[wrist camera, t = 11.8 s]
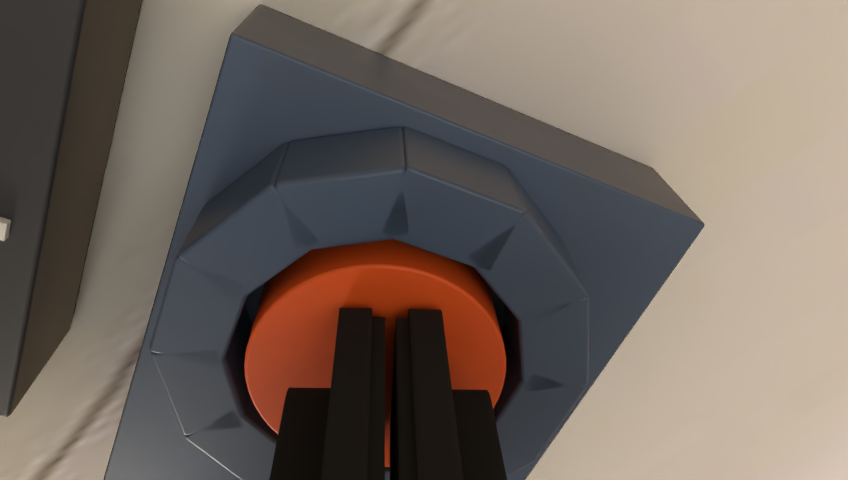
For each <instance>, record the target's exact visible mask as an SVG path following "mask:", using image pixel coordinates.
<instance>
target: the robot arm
mask: <svg viewBox="0 0 848 480" xmlns="http://www.w3.org/2000/svg"><path fill="white" fill-rule="evenodd" d="M269 480H385V317H372V308H340V309H339V316H338V325H337V335H336V344H335V353H334V362H333V371H332V380H331V388H292V387H289V388H288V390H287V393H286V397H285V402H284V407H283V412H282V417H281V422H280V428H279V433H278V438H277V443H276V448H275V453H274V458H273V463H272V469H271V474H270V479H269ZM390 480H507V477H506V472H505V467H504V462H503V457H502V452H501V447H500V442H499V437H498V432H497V427H496V422H495V417H494V412H493V407H492V402H491V398H490V394H489V392H488V390H466V389H452V386H451V378H450V370H449V362H448V355H447V347H446V339H445V331H444V323H443V315H442V310H437V309H409V310H408V318H401V317H396V320H395V340H394V361H393V382H392V403H391V425H390Z"/></svg>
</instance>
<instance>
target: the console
mask: <svg viewBox="0 0 848 480" xmlns="http://www.w3.org/2000/svg"><path fill="white" fill-rule="evenodd" d="M141 2H142V0H0V416H3V417H8V416H9V415H10V414H11V413H12V412H13V410H14V409H15V408H16V406H17V405H18V403H19V402H20V400H21V399H22V397H23V396H24V395H25V393H26V392H27V390H28V389H29V387H30V386H31V384H32V383H33V382H34V380H35V379H36V377H37V376H38V374H39V373H40V372H41V370H42V369H43V367H44V366H45V364H46V363H47V361H48V360H49V359H50V357H51V356H52V354H53V353H54V351H55V350H56V348H57V347H58V346H59V344H60V343H61V341H62V340H63V338H64V337H65V335H66V334H67V333H68V331H69V330H70V326H71V321H72V317H73V312H74V308H75V303H76V299H77V294H78V289H79V285H80V280H81V276H82V271H83V267H84V262H85V258H86V253H87V248H88V244H89V239H90V235H91V230H92V226H93V221H94V216H95V212H96V207H97V203H98V198H99V194H100V189H101V185H102V180H103V175H104V171H105V166H106V162H107V157H108V153H109V148H110V143H111V139H112V134H113V130H114V125H115V121H116V116H117V111H118V107H119V102H120V98H121V93H122V89H123V84H124V80H125V75H126V70H127V66H128V61H129V57H130V52H131V48H132V43H133V38H134V34H135V29H136V25H137V20H138V16H139V11H140V7H141Z"/></svg>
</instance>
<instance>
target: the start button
mask: <svg viewBox="0 0 848 480" xmlns="http://www.w3.org/2000/svg"><path fill="white" fill-rule="evenodd" d="M340 308H372V317H385V467H390V425H391V403H392V382H393V361H394V340H395V320H396V317H401V318H408V310H409V309H437V310H442V315H443V323H444V331H445V339H446V347H447V355H448V362H449V370H450V378H451V386H452V389H466V390H488V392H489V394H490V398H491V402H492V407H493V408H494V406H495V405H496V403H497V401H498V399H499V397H500V394H501V391H502V388H503V385H504V380H505V375H506V353H505V347H504V342H503V338H502V334H501V331H500V327H499V323H498V319H497V315H496V311H495V307H494V304H493V300H492V296H491V292H490V289H489V286H488V284H487V282H486V281H485V280H484V279H483V278H482V276H481V275H480V274H479V273H478V272H477V271H476V269H475V268H474V267H472V266H469V265H466V264H463V263H461V262H458V261H455V260H452V259H449V258H446V257H443V256H441V255H438V254H435V253H432V252H429V251H426V250H423V249H420V248H418V247H415V246H412V245H409V244H406V243H403V242H400V241H397V240H395V239H392V240H384V241H376V242H368V243H360V244H352V245H345V246H337V247H329V248H321V249H313V250H310V251H309V252H307V253H306V254H304V255H303V256H302V257H300V258H299V259H297V260H296V261H295V262H293V263H292V264H290V265H289V266H288V267H286V268H285V269H283V270H282V271H281V272H279V273H278V274H276V275H275V276H273V277H272V278H271V279H269V280H268V281H266V282H265V286H264V289H263V293H262V296H261V300H260V303H259V306H258V310H257V313H256V317H255V320H254V324H253V327H252V331H251V334H250V338H249V341H248V345H247V348H246V353H245V362H244V368H245V379H246V384H247V388H248V392H249V394H250V397H251V399H252V401H253V404H254V406H255V407H256V409H257V411H258V412H259V414H260V416H261V417H262V418H263V419H264V421H265V422H266V423H267V424H268V425H269V427H270V428H271V429H272V430H274V431H275V432H276V433H277V434H278V433H279V428H280V422H281V417H282V412H283V407H284V402H285V397H286V393H287V390H288V388H289V387H292V388H331V380H332V371H333V362H334V353H335V344H336V335H337V325H338V316H339V309H340Z"/></svg>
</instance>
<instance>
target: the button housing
mask: <svg viewBox="0 0 848 480" xmlns="http://www.w3.org/2000/svg"><path fill="white" fill-rule="evenodd" d="M703 227H704V223H703V222H702V221H701V220H700V219H699V218H698V216H697V215H696V214H695V213H694V212H693V211H692V210H691V209H690V208H689V207H688V206H687V205H686V204H685V202H684V201H683V200H682V199H681V198H680V197H679V196H678V195H677V194H676V193H675V192H674V191H673V190H672V188H671V187H670V186H669V185H668V184H667V183H666V182H665V181H664V180H663V179H662V178H661V177H660V175H659V174H658V173H657V172H656V171H655V170H654V169H653V168H651V167H648V166H646V165H643V164H641V163H639V162H636V161H634V160H631V159H629V158H627V157H624V156H622V155H620V154H617V153H615V152H612V151H610V150H608V149H605V148H603V147H600V146H598V145H596V144H593V143H591V142H589V141H586V140H584V139H581V138H579V137H577V136H574V135H572V134H569V133H567V132H565V131H562V130H560V129H557V128H555V127H553V126H550V125H548V124H546V123H543V122H541V121H538V120H536V119H534V118H531V117H529V116H526V115H524V114H522V113H519V112H517V111H514V110H512V109H510V108H507V107H505V106H503V105H500V104H498V103H495V102H493V101H491V100H488V99H486V98H483V97H481V96H479V95H476V94H474V93H472V92H469V91H467V90H464V89H462V88H460V87H457V86H455V85H452V84H450V83H448V82H445V81H443V80H440V79H438V78H436V77H433V76H431V75H429V74H426V73H424V72H421V71H419V70H417V69H414V68H412V67H409V66H407V65H405V64H402V63H400V62H398V61H395V60H393V59H390V58H388V57H386V56H383V55H381V54H378V53H376V52H374V51H371V50H369V49H366V48H364V47H362V46H359V45H357V44H355V43H352V42H350V41H347V40H345V39H343V38H340V37H338V36H335V35H333V34H331V33H328V32H326V31H324V30H321V29H319V28H316V27H314V26H312V25H309V24H307V23H304V22H302V21H300V20H297V19H295V18H292V17H290V16H288V15H285V14H283V13H281V12H278V11H276V10H273V9H271V8H269V7H266V6H264V5H259V6H258V7H257V8H256V9H255V10H254V11H253V12H252V13H251V14H250V15H249V16H248V17H247V18H246V19H245V20H244V21H243V22H242V23H241V24H240V25H239V26H238V27H237V28H236V30H235V31H234V32H233V33H232V34H231V35H230V38H229V41H228V45H227V48H226V52H225V55H224V59H223V62H222V66H221V69H220V73H219V76H218V80H217V83H216V87H215V90H214V94H213V97H212V101H211V104H210V108H209V111H208V115H207V118H206V122H205V125H204V129H203V133H202V136H201V140H200V143H199V147H198V150H197V154H196V157H195V161H194V164H193V168H192V171H191V175H190V178H189V182H188V185H187V189H186V192H185V196H184V199H183V203H182V206H181V210H180V213H179V217H178V220H177V224H176V227H175V231H174V234H173V238H172V241H171V245H170V248H169V252H168V255H167V259H166V262H165V266H164V269H163V273H162V276H161V280H160V283H159V287H158V290H157V294H156V297H155V301H154V304H153V308H152V311H151V315H150V318H149V322H148V325H147V329H146V332H145V336H144V339H143V343H142V346H141V350H140V353H139V357H138V360H137V364H136V367H135V371H134V374H133V378H132V381H131V385H130V388H129V392H128V395H127V399H126V402H125V406H124V409H123V413H122V416H121V420H120V423H119V427H118V430H117V434H116V437H115V441H114V444H113V448H112V451H111V455H110V458H109V462H108V465H107V469H106V472H105V476H104V479H103V480H269V479H270V474H271V469H272V463H273V458H274V453H275V448H276V443H277V438H278V434H277V433H276V432H275V431H274V430H272V429H271V428H270V427H269V425H268V424H267V423H266V422H265V421H264V419H263V418H262V417H261V416H260V414H259V412H258V411H257V409H256V407H255V406H254V404H253V401H252V399H251V397H250V394H249V392H248V388H247V384H246V379H245V368H244V362H245V353H246V348H247V345H248V341H249V338H250V334H251V331H252V327H253V324H254V320H255V317H256V313H257V310H258V306H259V303H260V300H261V296H262V293H263V289H264V286H265V282H266V281H268V280H269V279H271V278H272V277H273V276H275V275H276V274H278V273H279V272H281V271H282V270H283V269H285V268H286V267H288V266H289V265H290V264H292V263H293V262H295V261H296V260H297V259H299V258H300V257H302V256H303V255H304V254H306V253H307V252H309V251H310V250H313V249H321V248H329V247H337V246H345V245H352V244H360V243H368V242H376V241H384V240H392V239H395V240H397V241H400V242H403V243H406V244H409V245H412V246H415V247H418V248H420V249H423V250H426V251H429V252H432V253H435V254H438V255H441V256H443V257H446V258H449V259H452V260H455V261H458V262H461V263H463V264H466V265H469V266H472V267H474V268H475V269H476V271H477V272H478V273H479V274H480V275H481V276H482V278H483V279H484V280H485V281H486V282H487V284H488V286H489V289H490V292H491V296H492V300H493V304H494V307H495V311H496V315H497V319H498V323H499V327H500V331H501V334H502V338H503V342H504V347H505V353H506V375H505V380H504V385H503V388H502V391H501V394H500V397H499V399H498V401H497V403H496V405H495V406H494V408H493V412H494V417H495V422H496V427H497V432H498V437H499V442H500V447H501V452H502V457H503V462H504V467H505V472H506V477H507V480H525V479H526V478H527V476H528V475H529V474H530V472H531V471H532V469H533V468H534V467H535V465H536V464H537V462H538V461H539V459H540V458H541V457H542V455H543V454H544V452H545V451H546V450H547V448H548V447H549V445H550V444H551V442H552V441H553V440H554V438H555V437H556V435H557V434H558V433H559V431H560V430H561V428H562V427H563V425H564V424H565V423H566V421H567V420H568V418H569V417H570V416H571V414H572V413H573V411H574V410H575V408H576V407H577V406H578V404H579V403H580V401H581V400H582V399H583V397H584V396H585V394H586V393H587V392H588V390H589V389H590V387H591V386H592V384H593V383H594V382H595V380H596V379H597V377H598V376H599V375H600V373H601V372H602V370H603V369H604V367H605V366H606V365H607V363H608V362H609V360H610V359H611V358H612V356H613V355H614V353H615V352H616V350H617V349H618V348H619V346H620V345H621V343H622V342H623V341H624V339H625V338H626V336H627V335H628V333H629V332H630V331H631V329H632V328H633V326H634V325H635V324H636V322H637V321H638V319H639V318H640V316H641V315H642V314H643V312H644V311H645V309H646V308H647V307H648V305H649V304H650V302H651V301H652V299H653V298H654V297H655V295H656V294H657V292H658V291H659V290H660V288H661V287H662V285H663V284H664V282H665V281H666V280H667V278H668V277H669V275H670V274H671V273H672V271H673V270H674V268H675V267H676V265H677V264H678V263H679V261H680V260H681V258H682V257H683V256H684V254H685V253H686V251H687V250H688V248H689V247H690V246H691V244H692V243H693V241H694V240H695V239H696V237H697V236H698V234H699V233H700V231H701V230H702V229H703ZM385 480H390V467H385Z"/></svg>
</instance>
